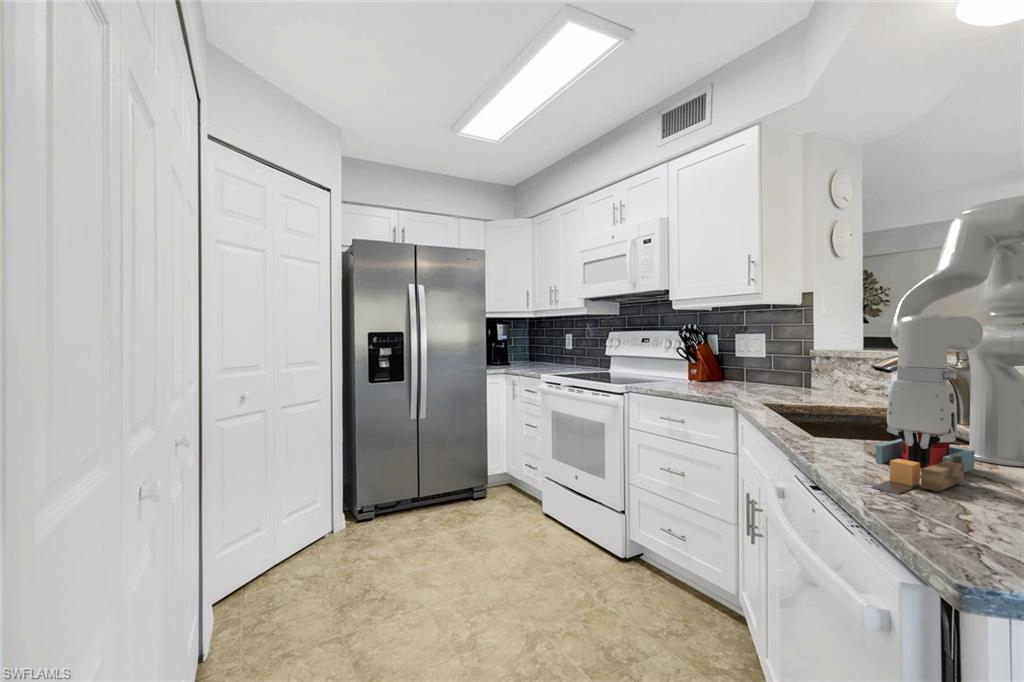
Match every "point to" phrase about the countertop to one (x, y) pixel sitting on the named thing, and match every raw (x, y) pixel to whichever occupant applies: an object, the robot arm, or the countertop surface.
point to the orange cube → (905, 472)
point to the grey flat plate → (894, 487)
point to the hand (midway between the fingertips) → (918, 466)
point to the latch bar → (943, 474)
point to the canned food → (935, 452)
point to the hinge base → (963, 483)
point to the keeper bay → (894, 451)
